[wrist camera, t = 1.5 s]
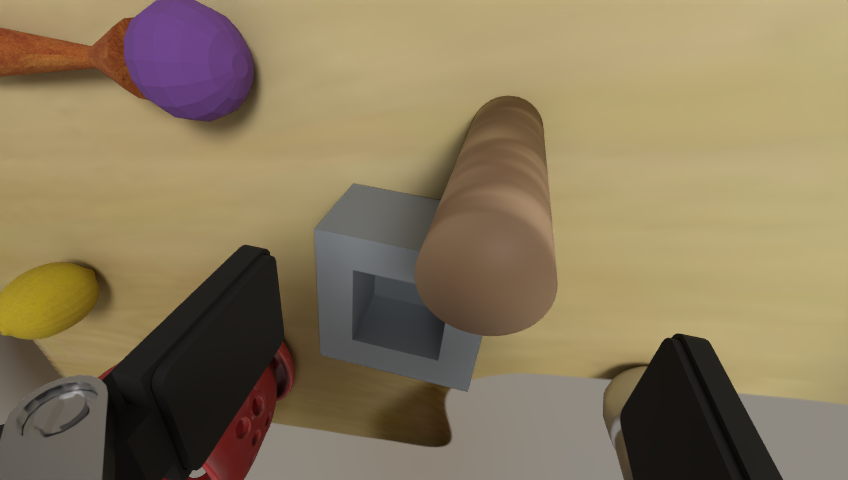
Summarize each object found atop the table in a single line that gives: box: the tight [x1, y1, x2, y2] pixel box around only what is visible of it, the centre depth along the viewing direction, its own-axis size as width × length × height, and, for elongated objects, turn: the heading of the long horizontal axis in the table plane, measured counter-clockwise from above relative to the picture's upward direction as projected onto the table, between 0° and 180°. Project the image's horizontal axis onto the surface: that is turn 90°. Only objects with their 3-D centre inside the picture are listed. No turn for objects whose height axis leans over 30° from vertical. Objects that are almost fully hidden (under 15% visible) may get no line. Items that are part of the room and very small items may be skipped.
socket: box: [314, 184, 482, 392], centre depth 27 cm, size 10×10×6 cm
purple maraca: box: [0, 0, 254, 121], centre depth 24 cm, size 6×6×20 cm
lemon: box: [0, 262, 99, 339], centre depth 34 cm, size 6×6×8 cm
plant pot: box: [98, 342, 295, 480], centre depth 34 cm, size 13×13×12 cm
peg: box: [414, 96, 557, 336], centre depth 17 cm, size 4×4×14 cm
